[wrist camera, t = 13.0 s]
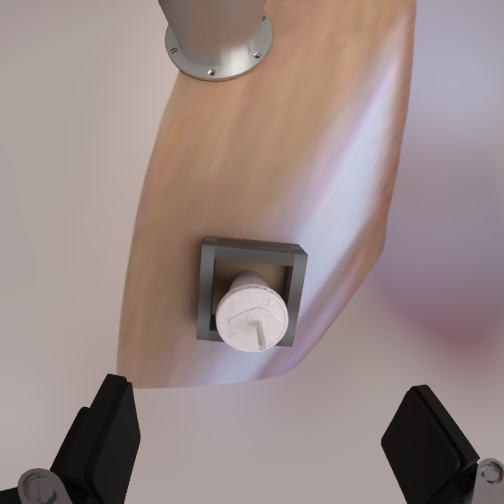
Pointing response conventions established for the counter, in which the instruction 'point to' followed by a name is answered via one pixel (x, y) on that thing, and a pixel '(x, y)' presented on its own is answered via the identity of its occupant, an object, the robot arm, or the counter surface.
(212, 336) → the frame
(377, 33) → the counter surface
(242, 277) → the smoothie
